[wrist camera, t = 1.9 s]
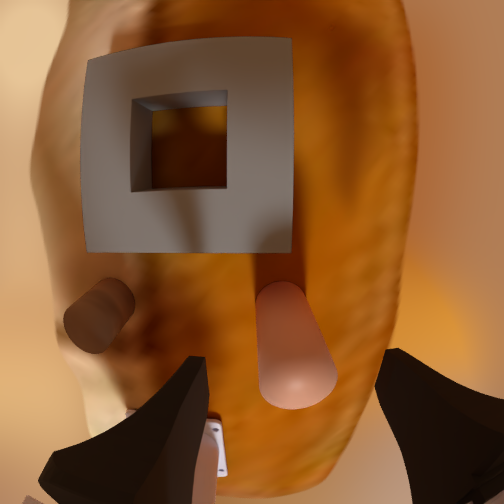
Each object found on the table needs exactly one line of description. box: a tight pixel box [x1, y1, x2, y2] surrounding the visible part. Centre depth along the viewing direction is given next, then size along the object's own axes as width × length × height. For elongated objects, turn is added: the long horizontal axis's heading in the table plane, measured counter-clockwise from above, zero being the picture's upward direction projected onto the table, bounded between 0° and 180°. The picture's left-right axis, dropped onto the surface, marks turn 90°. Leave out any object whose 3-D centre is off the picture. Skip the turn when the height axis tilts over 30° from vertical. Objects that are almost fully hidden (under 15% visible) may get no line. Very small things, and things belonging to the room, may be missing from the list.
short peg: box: [63, 278, 135, 354], centre depth 15 cm, size 3×3×4 cm
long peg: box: [255, 281, 337, 409], centre depth 13 cm, size 3×3×7 cm
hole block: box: [80, 36, 294, 253], centre depth 13 cm, size 10×10×3 cm
